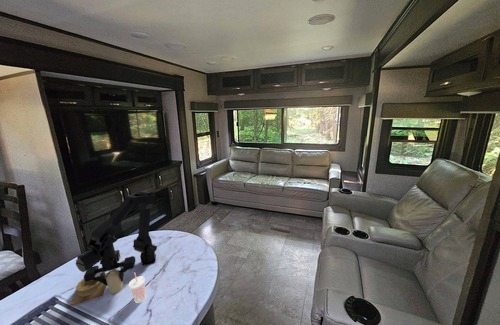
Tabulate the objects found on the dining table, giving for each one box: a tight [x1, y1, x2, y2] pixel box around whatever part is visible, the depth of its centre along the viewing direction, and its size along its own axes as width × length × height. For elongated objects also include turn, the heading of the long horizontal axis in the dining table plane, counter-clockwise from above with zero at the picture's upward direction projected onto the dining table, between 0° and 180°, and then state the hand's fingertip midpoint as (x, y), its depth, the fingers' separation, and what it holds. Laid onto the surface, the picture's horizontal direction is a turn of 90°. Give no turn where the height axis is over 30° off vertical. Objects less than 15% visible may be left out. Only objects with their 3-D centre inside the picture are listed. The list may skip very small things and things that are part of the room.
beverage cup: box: [128, 271, 147, 304], centre depth 87 cm, size 6×6×14 cm
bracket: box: [68, 272, 108, 307], centre depth 94 cm, size 12×14×4 cm
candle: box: [105, 268, 124, 295], centre depth 92 cm, size 6×6×10 cm
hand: (115, 282), depth 93 cm, fingers closed on candle, 5 cm apart
